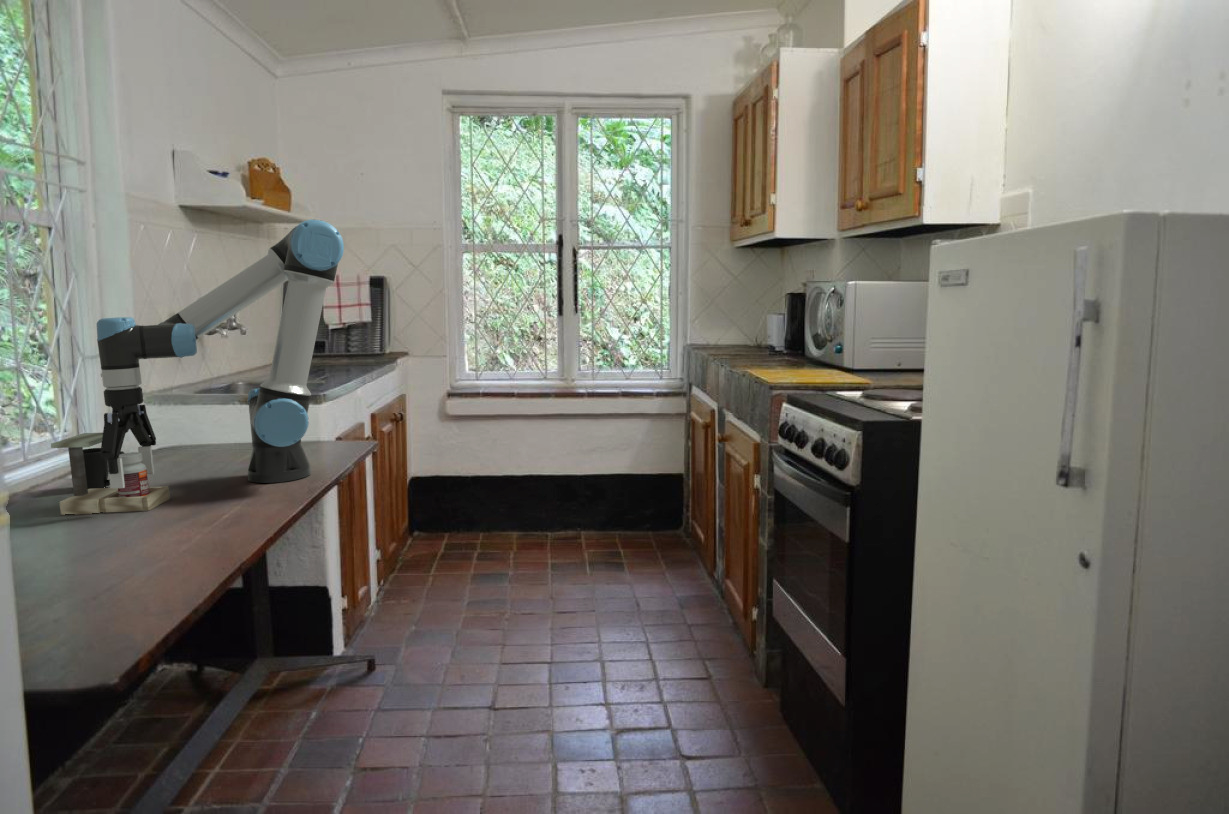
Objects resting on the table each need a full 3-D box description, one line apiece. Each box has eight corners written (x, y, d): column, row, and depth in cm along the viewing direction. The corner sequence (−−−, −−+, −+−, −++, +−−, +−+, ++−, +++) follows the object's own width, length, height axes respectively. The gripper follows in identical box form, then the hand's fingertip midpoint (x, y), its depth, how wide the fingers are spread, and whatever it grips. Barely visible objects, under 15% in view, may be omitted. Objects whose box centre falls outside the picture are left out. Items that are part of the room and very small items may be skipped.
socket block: (172, 497, 207) (165, 430, 204) (145, 512, 194) (137, 440, 191) (91, 500, 206) (83, 433, 203) (59, 515, 193) (50, 443, 191)
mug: (121, 490, 216) (116, 452, 215) (68, 493, 214) (63, 455, 213) (133, 482, 224) (129, 445, 223) (82, 485, 222) (77, 448, 221)
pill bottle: (149, 504, 198) (142, 455, 196) (118, 508, 196) (111, 458, 194) (152, 498, 204) (145, 450, 202) (122, 502, 201) (115, 453, 200)
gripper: (133, 381, 208) (143, 469, 211) (73, 395, 183) (85, 494, 187) (165, 380, 208) (174, 468, 212) (110, 394, 184) (122, 493, 187)
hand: (133, 480), depth 199 cm, fingers open, 13 cm apart
